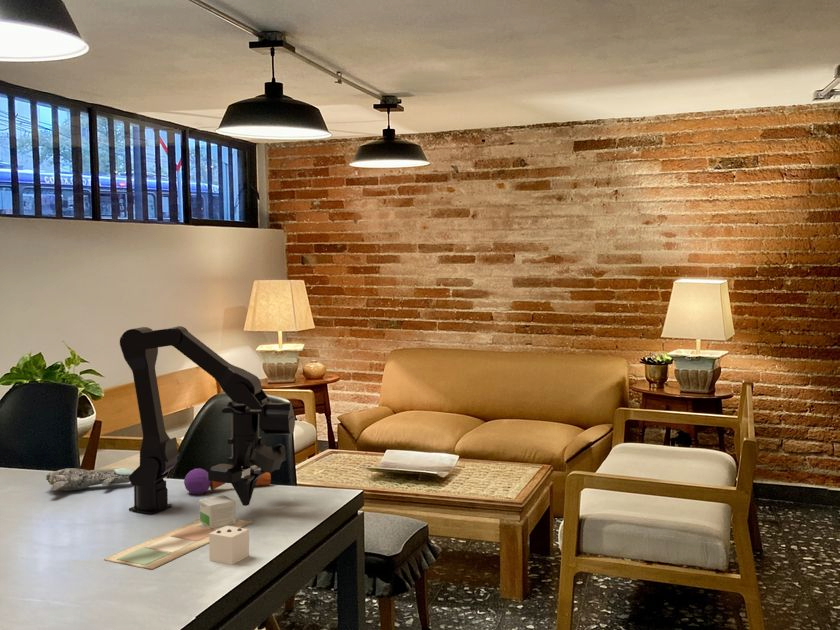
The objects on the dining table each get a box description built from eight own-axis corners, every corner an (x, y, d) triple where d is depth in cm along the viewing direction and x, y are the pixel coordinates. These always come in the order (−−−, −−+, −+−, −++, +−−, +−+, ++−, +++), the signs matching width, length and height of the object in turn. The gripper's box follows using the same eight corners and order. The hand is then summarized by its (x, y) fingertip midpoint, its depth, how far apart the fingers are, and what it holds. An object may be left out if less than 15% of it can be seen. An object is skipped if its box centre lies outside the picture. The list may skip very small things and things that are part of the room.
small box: (198, 522, 168) (198, 498, 168) (225, 517, 172) (224, 494, 171) (210, 529, 164) (209, 505, 163) (236, 524, 167) (236, 500, 167)
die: (209, 560, 148) (209, 531, 147) (226, 552, 152) (226, 523, 152) (232, 565, 145) (231, 535, 145) (249, 556, 150) (248, 527, 150)
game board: (104, 560, 147) (104, 558, 147) (208, 515, 174) (208, 514, 174) (151, 569, 143) (151, 568, 143) (251, 522, 169) (251, 521, 169)
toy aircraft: (137, 494, 190) (137, 472, 190) (43, 502, 183) (42, 479, 183) (137, 477, 205) (137, 456, 205) (50, 484, 199) (49, 462, 199)
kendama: (273, 472, 195) (188, 475, 186) (270, 495, 197) (185, 499, 188) (267, 462, 201) (183, 464, 192) (264, 485, 202) (181, 488, 193)
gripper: (250, 445, 164) (250, 522, 165) (301, 429, 181) (301, 498, 182) (205, 440, 168) (206, 515, 169) (259, 424, 185) (259, 492, 186)
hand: (245, 505), depth 176 cm, fingers closed
